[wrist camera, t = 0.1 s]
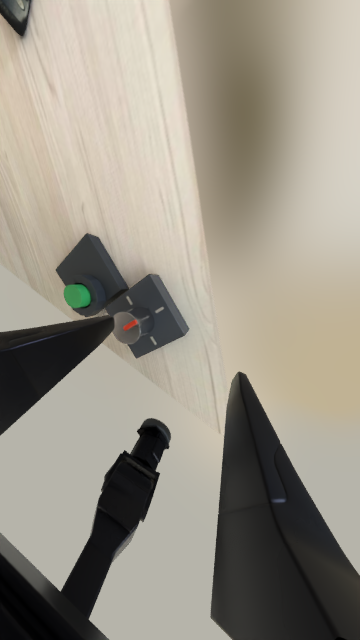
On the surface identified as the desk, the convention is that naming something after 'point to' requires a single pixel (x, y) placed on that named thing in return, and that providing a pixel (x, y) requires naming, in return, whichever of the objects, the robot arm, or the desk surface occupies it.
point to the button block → (92, 274)
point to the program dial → (133, 324)
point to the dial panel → (162, 308)
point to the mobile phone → (15, 13)
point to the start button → (77, 296)
